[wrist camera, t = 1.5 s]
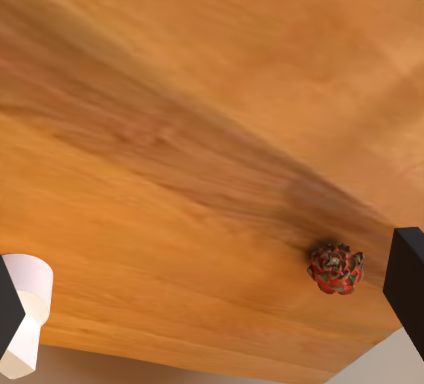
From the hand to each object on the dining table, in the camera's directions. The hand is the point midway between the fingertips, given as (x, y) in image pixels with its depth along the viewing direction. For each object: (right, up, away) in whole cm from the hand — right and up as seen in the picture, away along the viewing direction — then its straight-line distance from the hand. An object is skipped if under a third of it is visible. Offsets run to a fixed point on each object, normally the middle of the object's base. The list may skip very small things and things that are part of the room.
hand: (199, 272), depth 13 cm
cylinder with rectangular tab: (-26, -9, +38) cm, 47 cm away
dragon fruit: (+20, -8, +53) cm, 57 cm away
